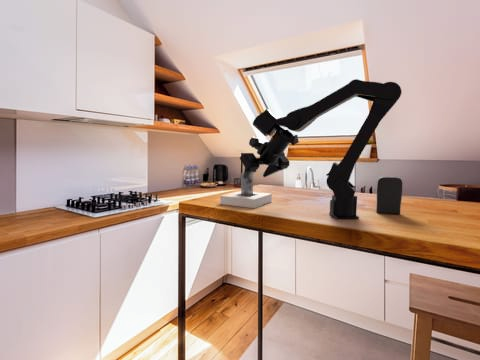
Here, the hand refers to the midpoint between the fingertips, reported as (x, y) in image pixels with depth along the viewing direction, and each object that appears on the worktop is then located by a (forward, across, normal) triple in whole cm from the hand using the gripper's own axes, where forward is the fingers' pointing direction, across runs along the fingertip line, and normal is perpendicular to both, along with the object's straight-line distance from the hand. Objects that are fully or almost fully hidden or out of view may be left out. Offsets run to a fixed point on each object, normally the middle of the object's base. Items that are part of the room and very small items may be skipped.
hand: (254, 177), depth 98 cm
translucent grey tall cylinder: (+10, 0, +4) cm, 11 cm away
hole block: (+10, 0, +4) cm, 11 cm away
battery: (-18, -24, +33) cm, 44 cm away
